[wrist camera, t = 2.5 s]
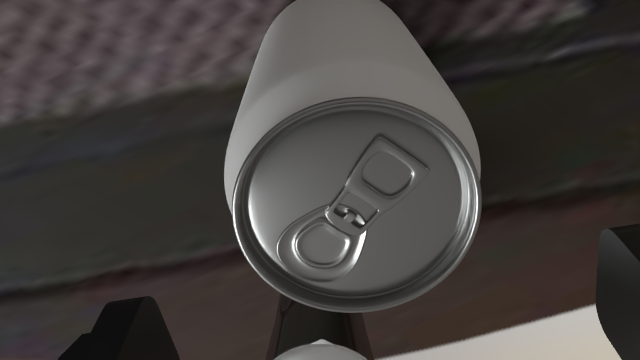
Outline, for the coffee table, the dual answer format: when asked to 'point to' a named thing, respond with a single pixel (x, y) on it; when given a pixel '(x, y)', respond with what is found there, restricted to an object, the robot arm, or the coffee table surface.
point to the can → (350, 161)
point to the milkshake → (317, 334)
